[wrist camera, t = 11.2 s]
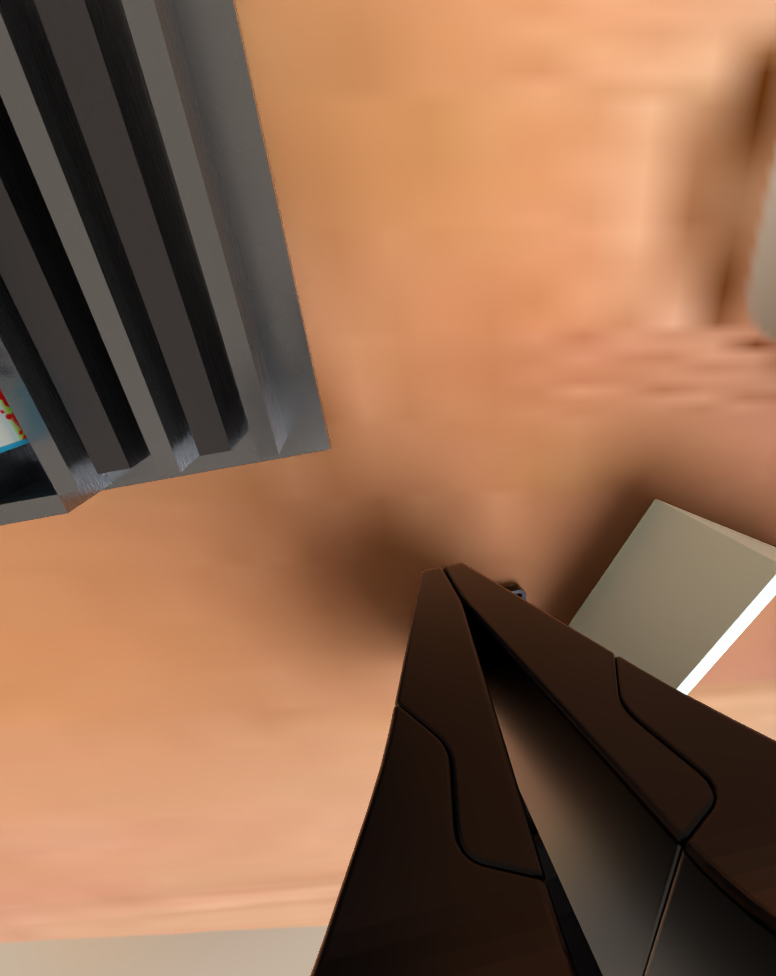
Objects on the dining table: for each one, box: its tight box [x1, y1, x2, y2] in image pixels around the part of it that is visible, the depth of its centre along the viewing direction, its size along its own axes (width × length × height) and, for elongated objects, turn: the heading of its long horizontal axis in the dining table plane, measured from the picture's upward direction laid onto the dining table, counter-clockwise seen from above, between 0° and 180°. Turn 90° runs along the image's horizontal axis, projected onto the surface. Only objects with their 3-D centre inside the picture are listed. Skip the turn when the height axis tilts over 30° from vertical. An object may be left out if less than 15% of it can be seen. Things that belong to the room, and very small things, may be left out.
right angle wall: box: [568, 499, 776, 695], centre depth 23 cm, size 12×12×8 cm
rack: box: [0, 0, 331, 525], centre depth 13 cm, size 18×15×4 cm
